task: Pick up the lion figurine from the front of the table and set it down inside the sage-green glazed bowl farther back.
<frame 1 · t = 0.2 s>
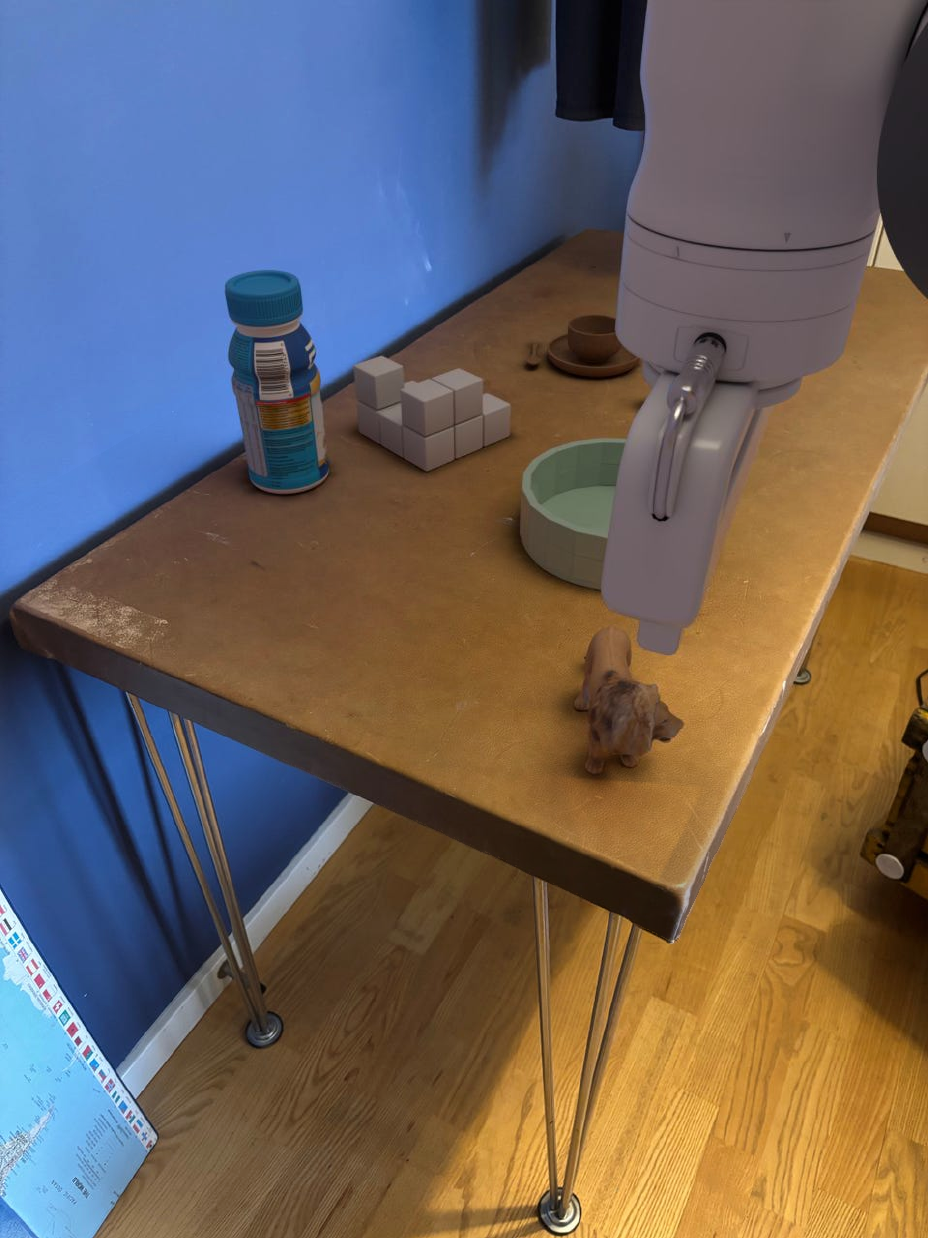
hand: (682, 584, 44), 21 cm above the table, tool pointing down, fingers open, 8 cm apart
bowl: (614, 535, 85), on the table
puzzle cube: (434, 436, 101), on the table
beverage bottle: (290, 477, 94), on the table
place setting: (595, 376, 113), on the table
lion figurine: (613, 737, 65), on the table
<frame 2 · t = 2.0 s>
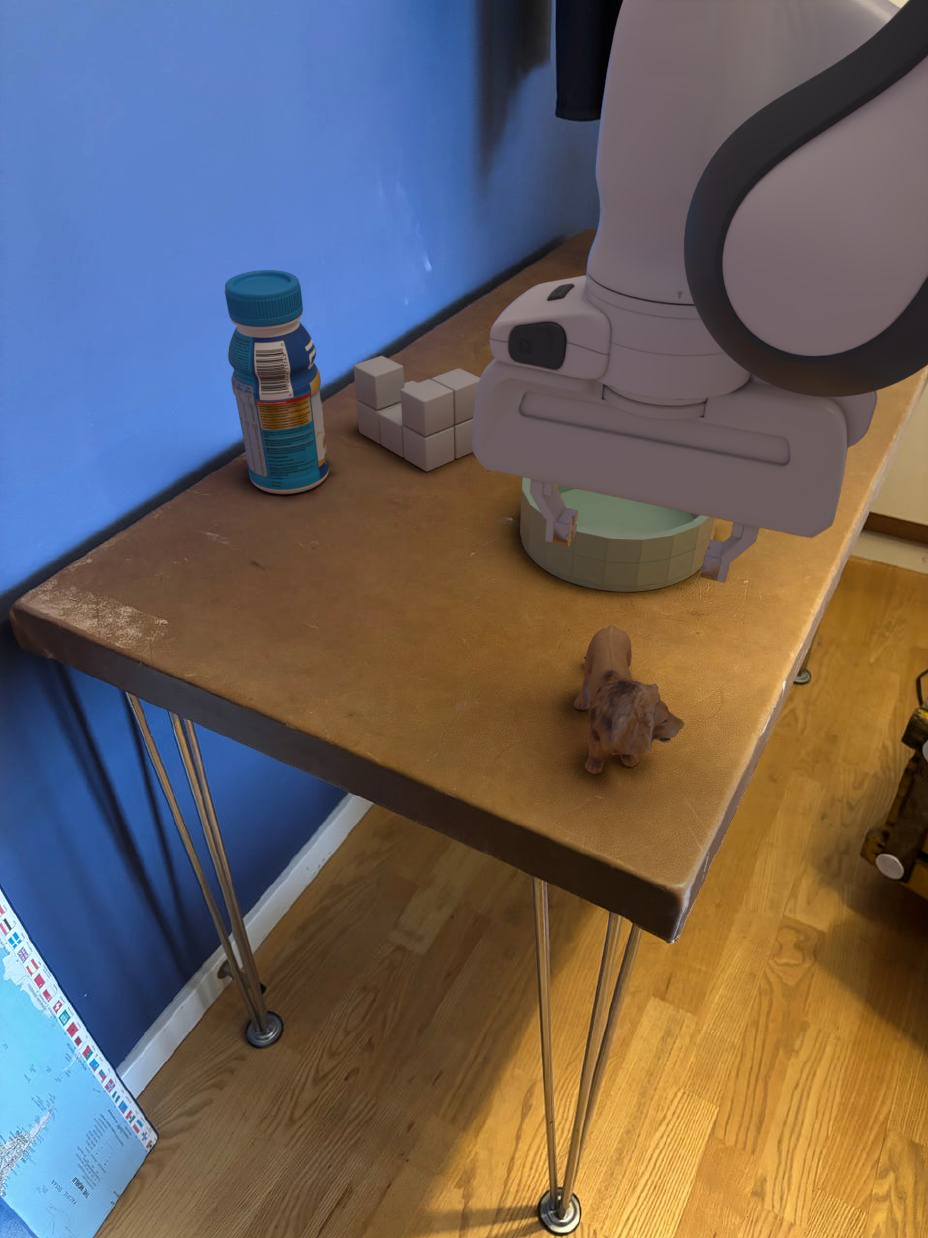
hand: (635, 556, 54), 16 cm above the table, tool pointing down, fingers open, 8 cm apart
nothing on the table moved.
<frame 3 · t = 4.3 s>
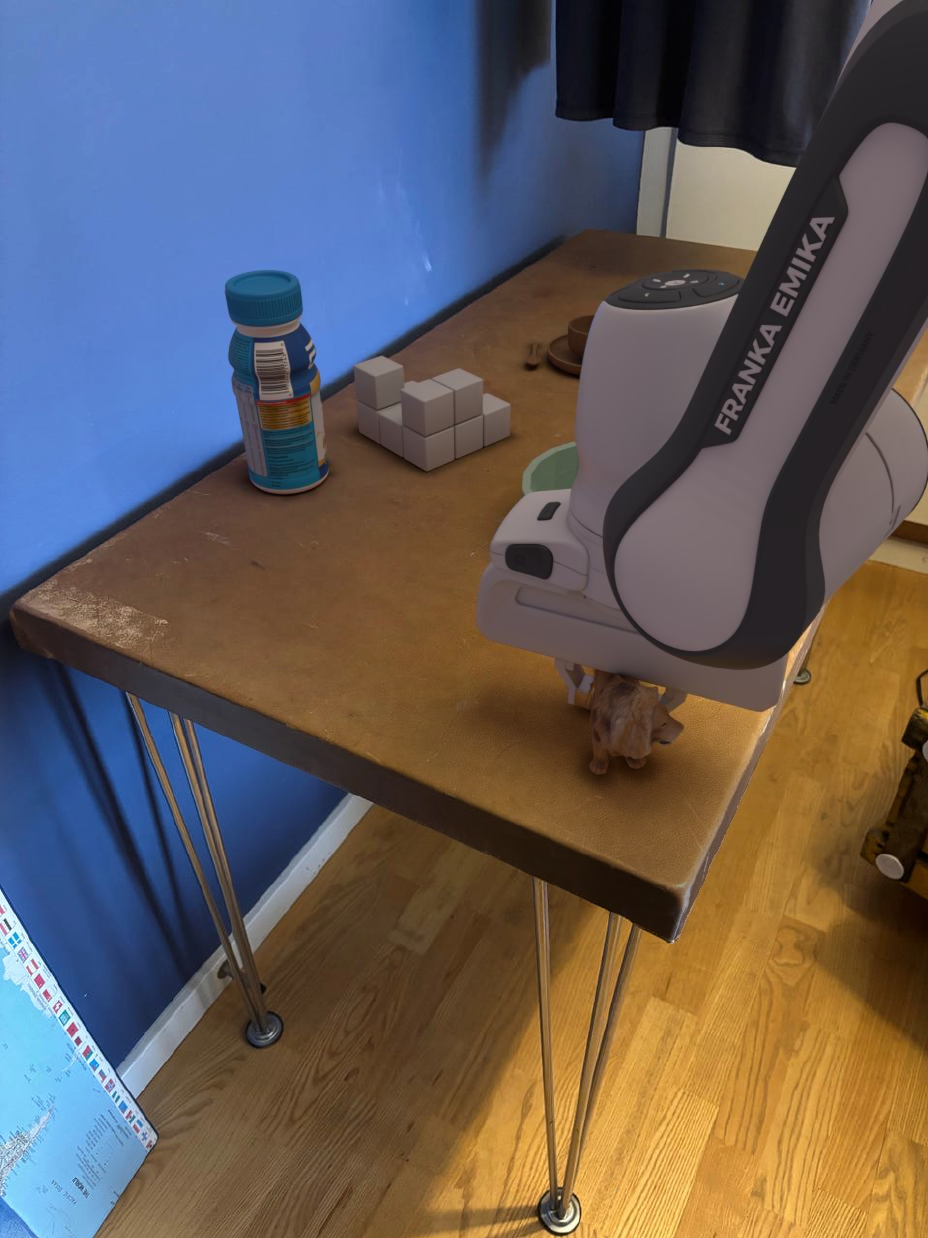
hand: (616, 710, 64), 2 cm above the table, tool pointing down, fingers closed on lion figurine, 4 cm apart
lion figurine: (621, 738, 65), on the table, touching gripper
everything else where it was.
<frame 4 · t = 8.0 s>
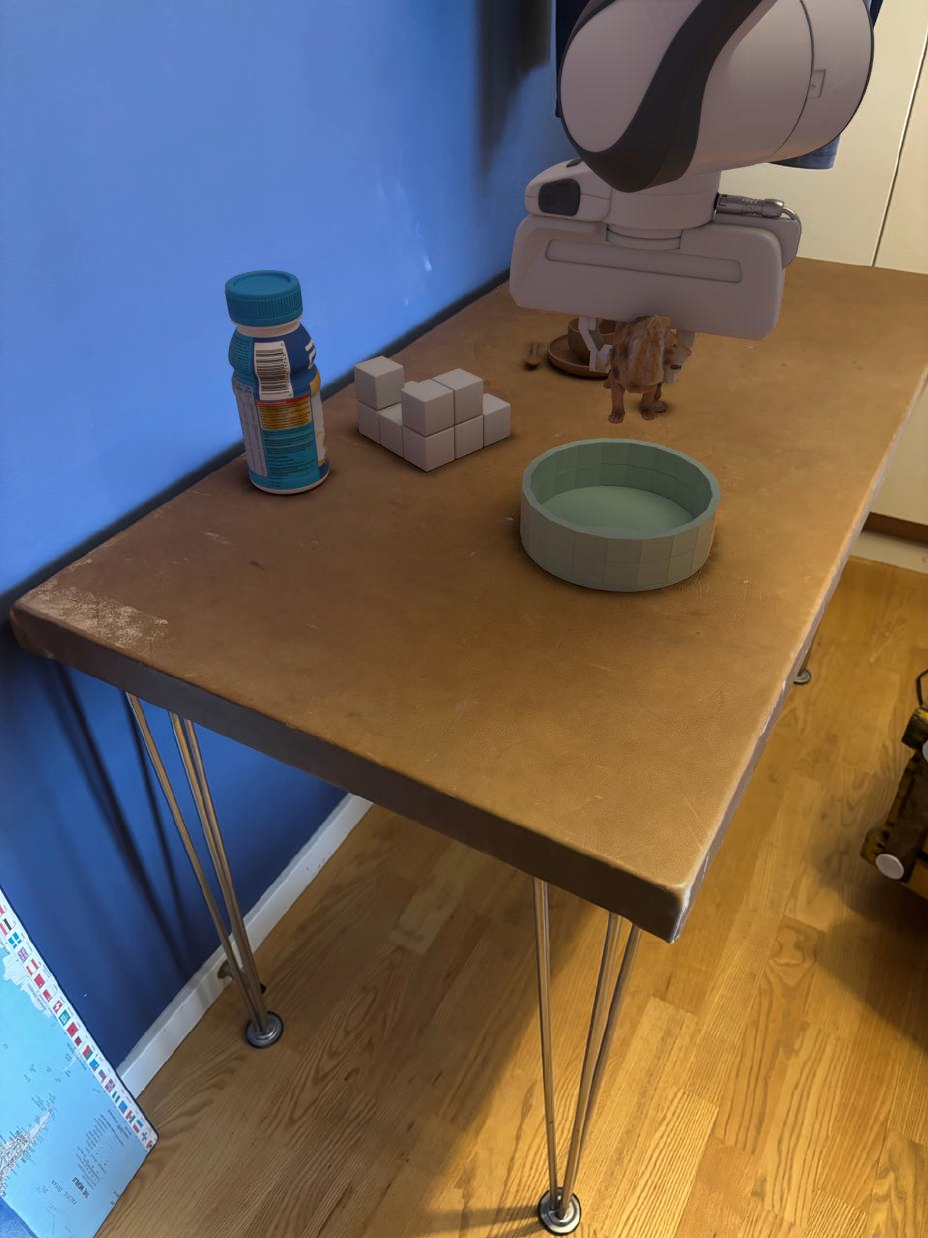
hand: (632, 374, 72), 17 cm above the table, tool pointing down, fingers closed on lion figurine, 4 cm apart
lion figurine: (636, 405, 74), point 15 cm above the table, touching gripper
everything else where it was.
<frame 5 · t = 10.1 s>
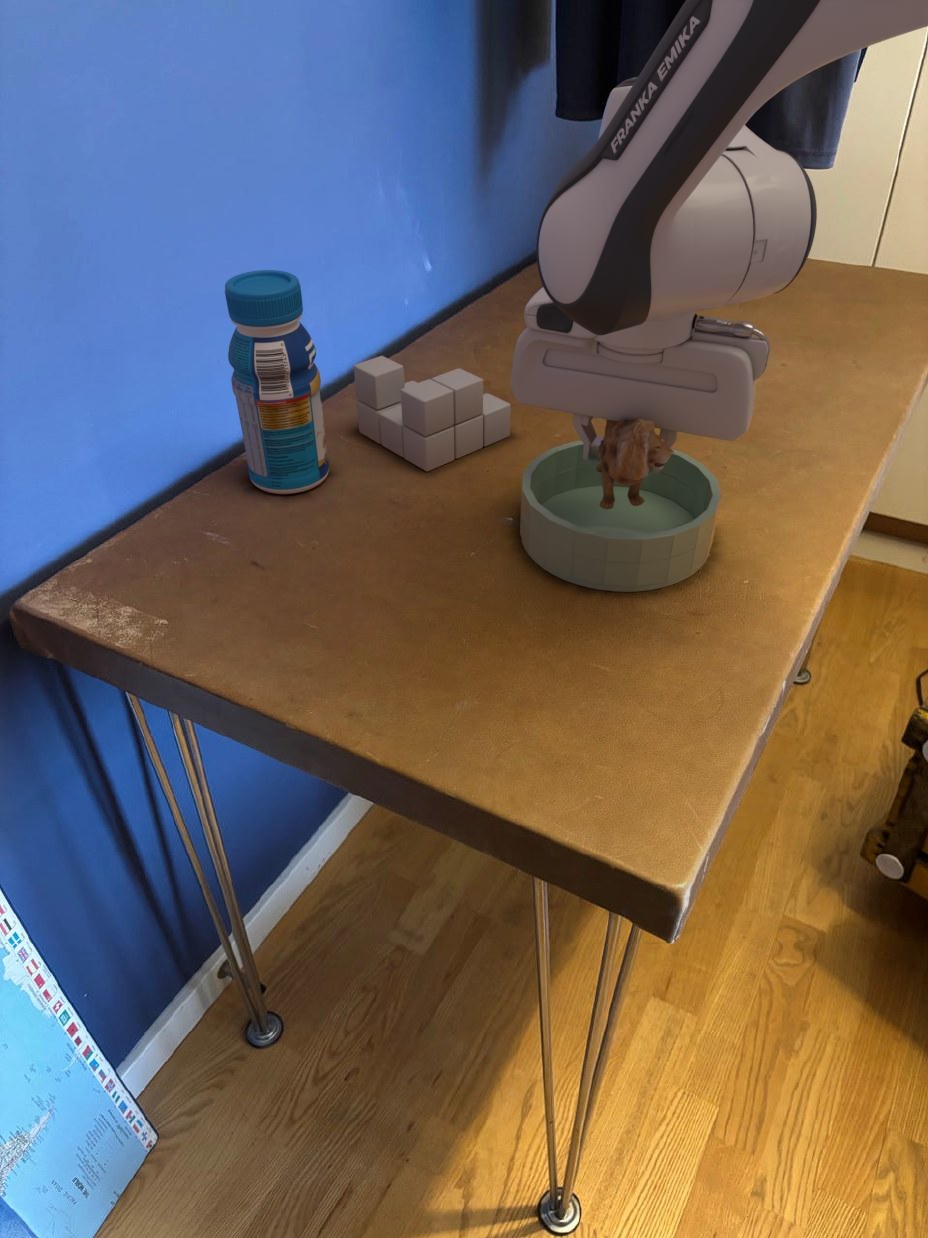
hand: (621, 463, 80), 8 cm above the table, tool pointing down, fingers closed on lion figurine, 4 cm apart
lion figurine: (625, 490, 82), point 5 cm above the table, touching gripper
everything else where it was.
when the fingers open (3 cm above the table, at t = 11.7 s): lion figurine stays where it is, resting on bowl.
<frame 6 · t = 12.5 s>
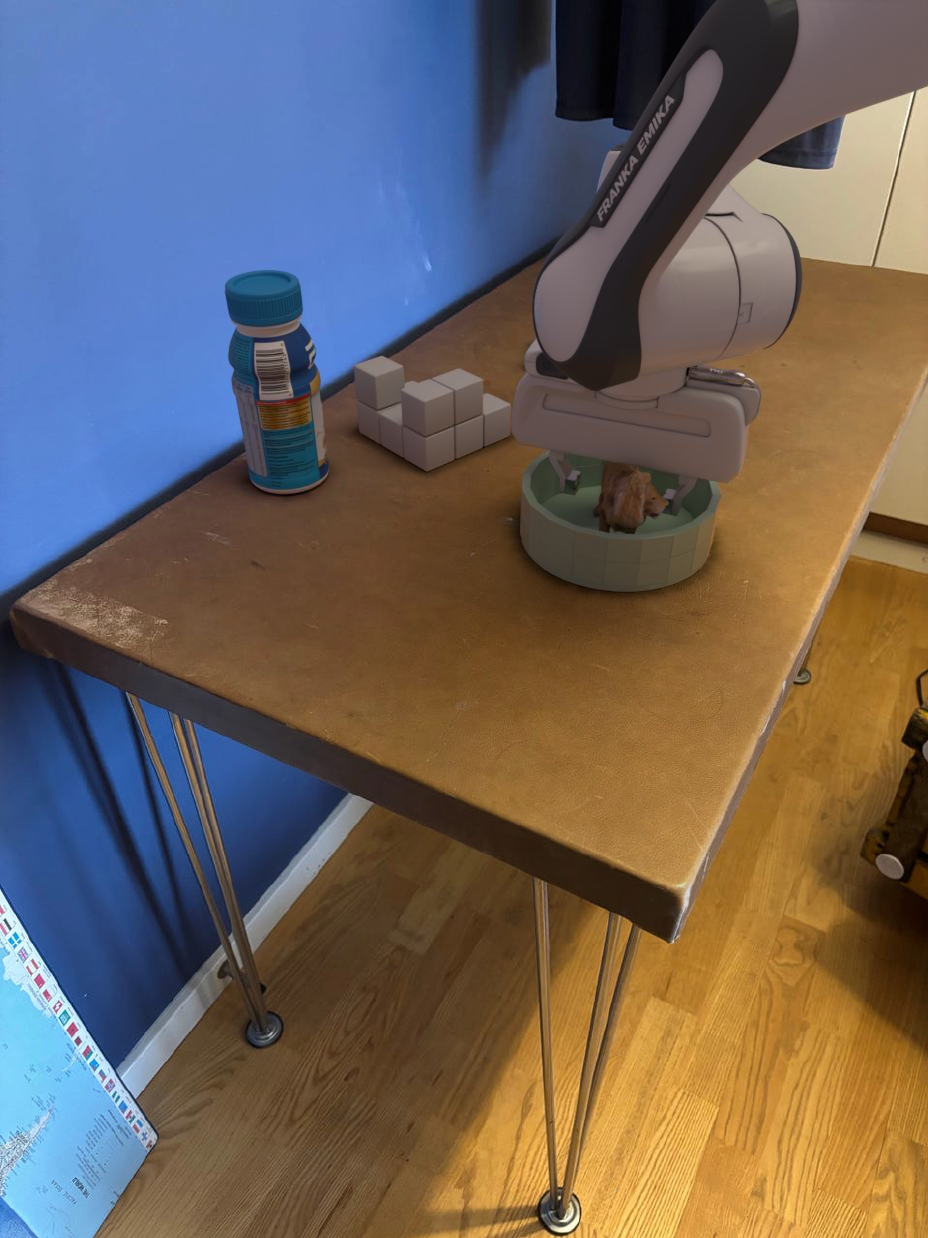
hand: (619, 501, 83), 4 cm above the table, tool pointing down, fingers open, 8 cm apart
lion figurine: (621, 534, 85), resting on bowl
everything else where it was.
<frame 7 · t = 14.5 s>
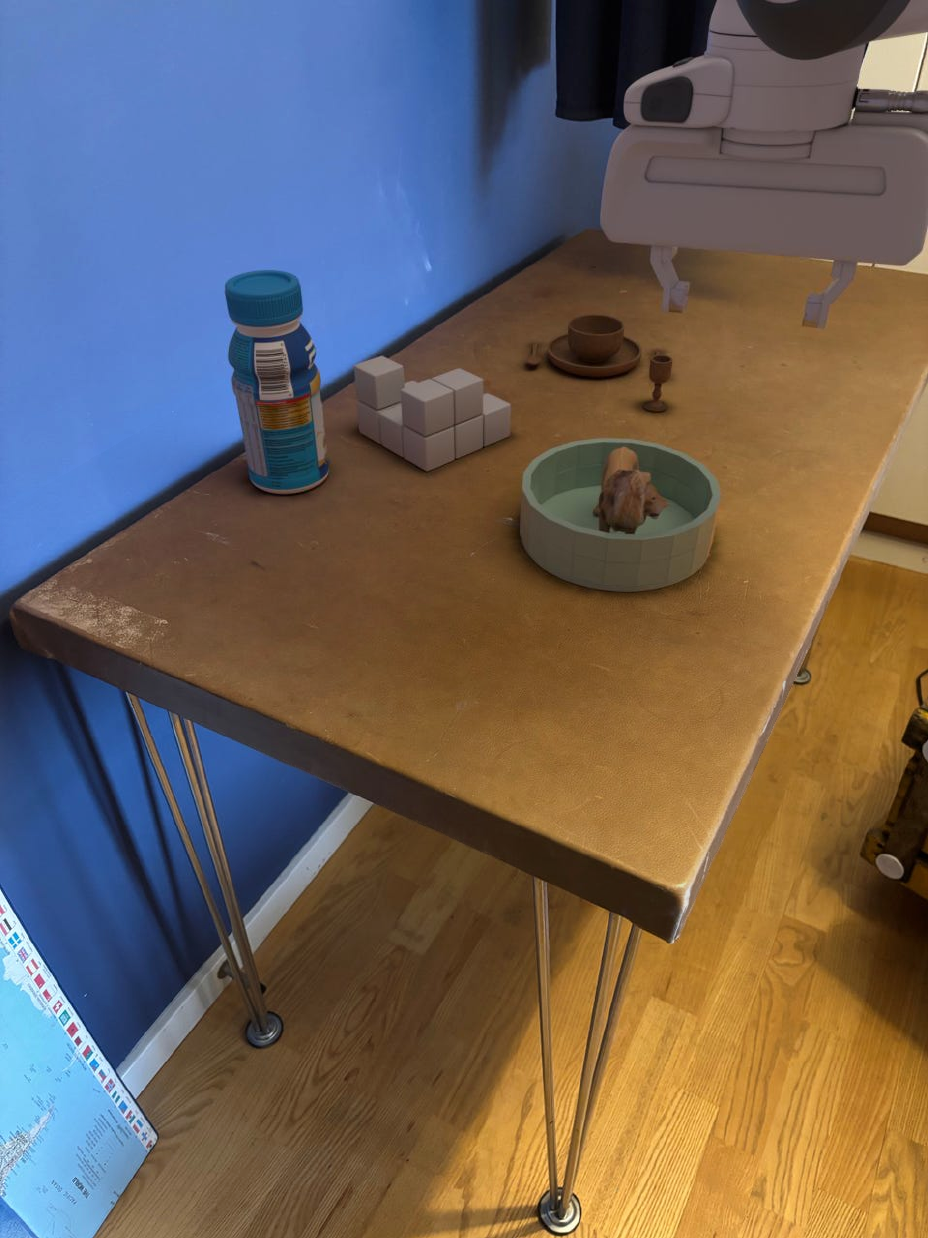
hand: (742, 317, 63), 24 cm above the table, tool pointing down, fingers open, 8 cm apart
nothing on the table moved.
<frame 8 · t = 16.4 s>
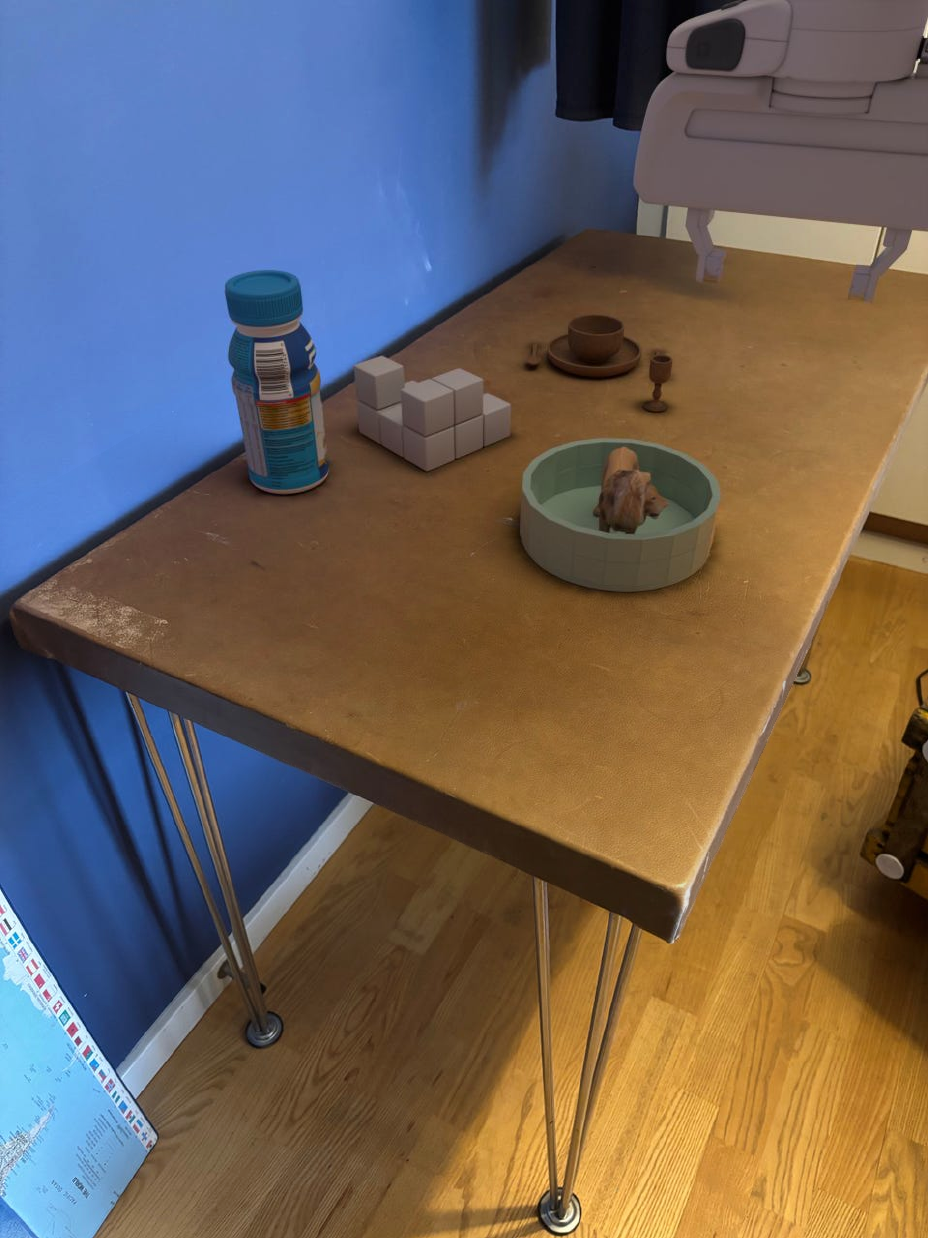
hand: (782, 289, 58), 27 cm above the table, tool pointing down, fingers open, 8 cm apart
nothing on the table moved.
at the end: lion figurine inside the target area in the bowl (0.6 cm from its centre), point 0.4 cm above the bowl's base; the gripper is holding nothing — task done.
